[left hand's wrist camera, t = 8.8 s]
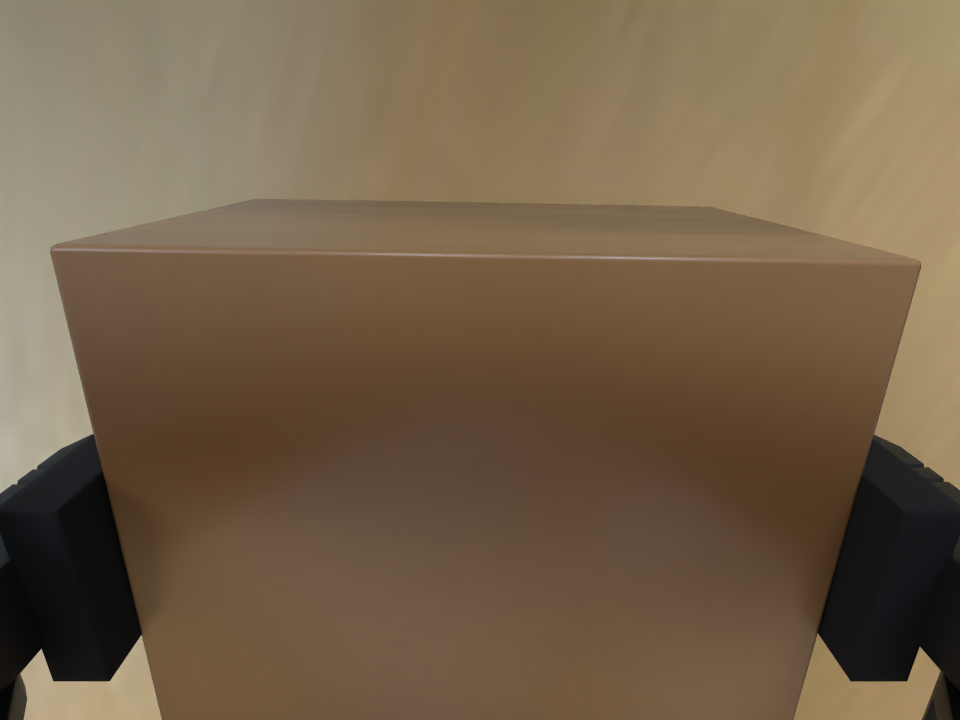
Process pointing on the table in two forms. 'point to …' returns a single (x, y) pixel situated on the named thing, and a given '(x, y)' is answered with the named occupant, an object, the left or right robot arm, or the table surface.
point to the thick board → (480, 452)
